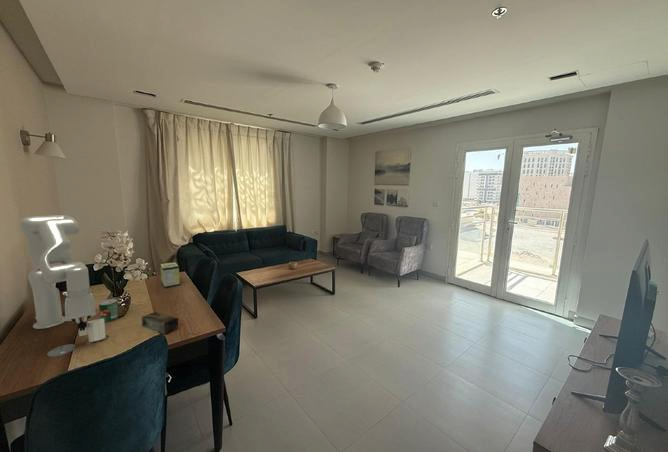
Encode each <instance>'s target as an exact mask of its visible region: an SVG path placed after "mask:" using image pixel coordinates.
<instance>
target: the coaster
mask: <svg viewBox="0 0 668 452" xmlns="http://www.w3.org/2000/svg"><path fill="white" fill-rule="evenodd" d="M75 349H76V344H72V343H71V344H70V343H69V344H64V345H60V346H57V347H54V348H52V349H51V350H49V351H48V352H47V356H48V357H53V358H54V357H59V356H63V355H66V354H69V353H71V352H72V351H74V350H75Z"/></svg>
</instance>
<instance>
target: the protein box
mask: <svg viewBox="0 0 668 452" xmlns="http://www.w3.org/2000/svg"><path fill="white" fill-rule="evenodd" d="M159 266H160V268H159V269H160V279H161V280H160V281H161V285H162V286H163V289H169V288H173V287H179V285H180V266H179V265H178V263H176V261H173V262H166V263H160V265H159ZM180 286H181V285H180Z"/></svg>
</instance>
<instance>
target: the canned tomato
mask: <svg viewBox="0 0 668 452" xmlns="http://www.w3.org/2000/svg"><path fill="white" fill-rule="evenodd" d="M98 308H99V319H104V321H105V324H107V323H110V322H111V323H112V322H114V321H116V320H118V319H119V310H118V308H119V307H118V299H116V298H110V299H104V300H102V301H100V302H99V303H98Z"/></svg>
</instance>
